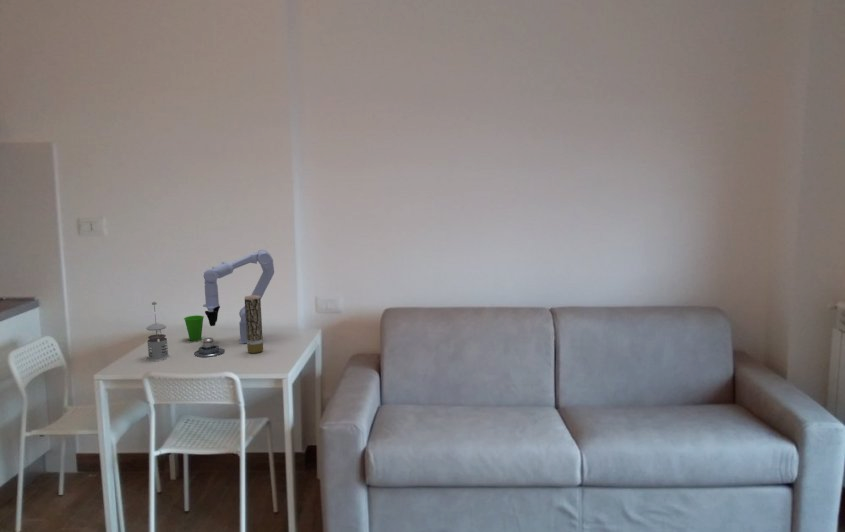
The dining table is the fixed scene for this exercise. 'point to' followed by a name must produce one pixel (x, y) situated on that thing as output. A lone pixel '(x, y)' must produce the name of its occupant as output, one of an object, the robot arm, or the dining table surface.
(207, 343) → the silver metal canister
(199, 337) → the cup
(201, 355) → the flange ring
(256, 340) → the paper tube
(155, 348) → the french press
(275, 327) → the dining table surface
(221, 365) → the dining table surface
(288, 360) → the dining table surface
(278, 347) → the dining table surface
